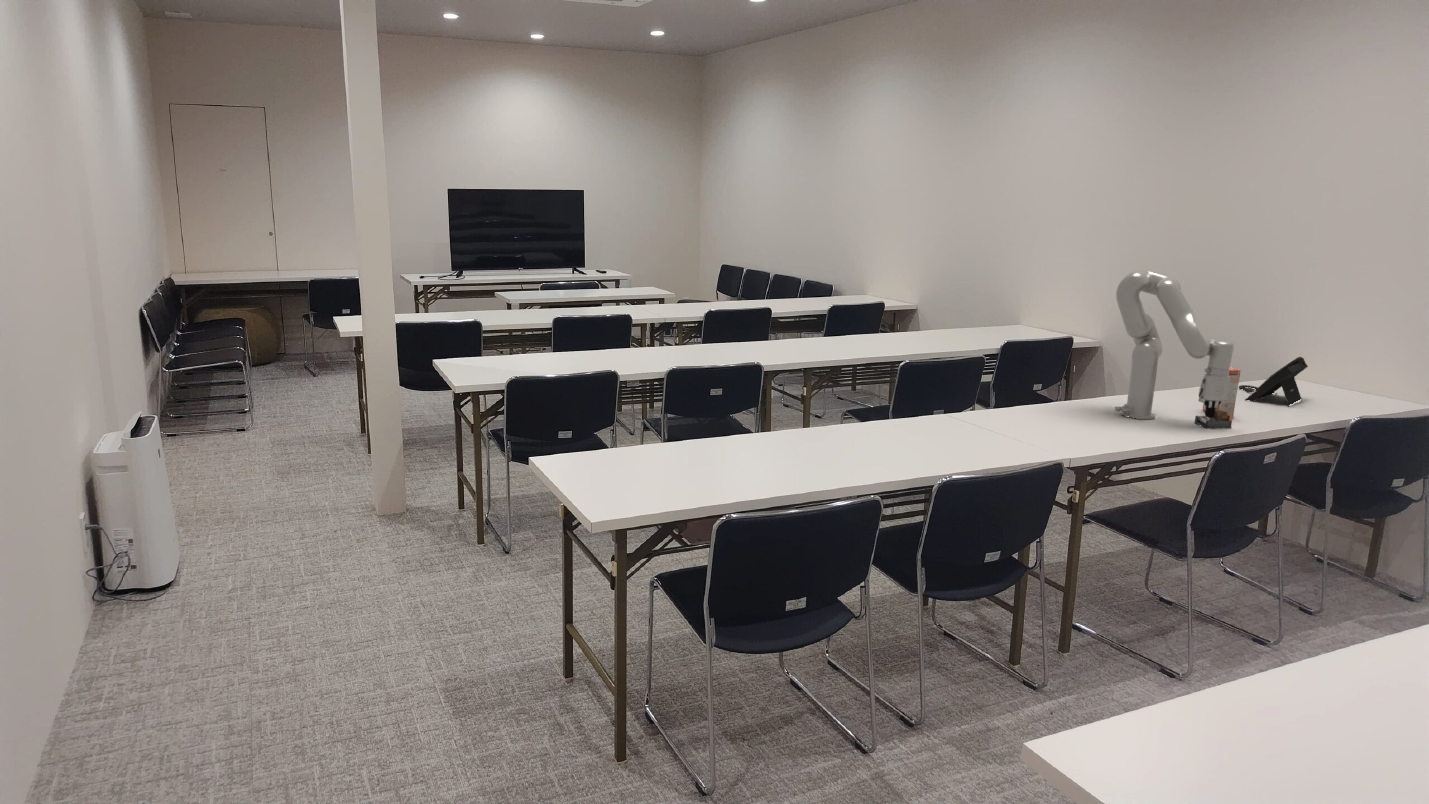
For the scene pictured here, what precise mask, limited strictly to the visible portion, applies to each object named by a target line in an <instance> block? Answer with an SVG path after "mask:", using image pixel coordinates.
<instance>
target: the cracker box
mask: <svg viewBox="0 0 1429 804" xmlns="http://www.w3.org/2000/svg"><path fill="white" fill-rule="evenodd" d="M1241 371H1242V370H1241V369H1239V368H1236V367H1232V366H1230V368H1229V373H1228V376H1230V393H1229V398H1228V400H1227V401H1226V402H1225V403H1221V404H1219V405H1218V406H1217V408H1215V409H1220V410H1223V411H1226V412H1228V413H1227V414H1229V415H1232V416H1233V418H1232V420H1233V419H1234V413H1235V407H1236V402H1237V401H1236V400H1237V396H1238V395H1237V394H1238V390H1239V383H1240V377H1241ZM1204 400H1205V399H1204ZM1205 410H1206V406H1205V404H1204V403H1203V404H1202V412H1204V413H1205Z"/></svg>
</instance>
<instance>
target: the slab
mask: <svg viewBox="0 0 1429 804" xmlns="http://www.w3.org/2000/svg"><path fill="white" fill-rule="evenodd" d="M1227 413H1228V412H1226V411H1223V410H1220V409H1215V413H1214V416H1213V418H1214V419H1216V420H1226V419H1227Z"/></svg>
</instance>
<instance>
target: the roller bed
mask: <svg viewBox="0 0 1429 804" xmlns="http://www.w3.org/2000/svg"><path fill="white" fill-rule="evenodd" d="M1232 418H1233V419H1234V415H1233V416H1232V415H1229V414H1227V419H1226V420H1216V419H1214V418H1209V417H1207V416H1205V415H1195V417H1194V424H1196V425H1198V426H1200V425H1201V426H1200V427H1202V426H1203V428H1205V429H1207V428H1210V429H1231V428H1232V425H1233V424H1232V423H1233V419H1232Z"/></svg>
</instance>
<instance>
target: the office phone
mask: <svg viewBox="0 0 1429 804" xmlns="http://www.w3.org/2000/svg"><path fill="white" fill-rule="evenodd" d="M1308 367H1309V365H1307V363H1306V360H1305V358H1304V357H1302V356H1298V357H1297V358H1295V359H1293V360H1292V361H1290V362H1289V363H1287V364H1285V365H1284V366H1283V367H1281V368H1279V370H1277V371H1276V372H1274V373H1273V374H1271V375H1270V376H1269V377H1268V378H1266V380H1264V381H1263V382H1262V383H1261V384H1260V385H1259V386H1258V387H1257V386H1254V385H1249V384H1248V385H1247V384H1246V385H1245V384H1244V385H1243V384H1242V385H1238V389H1239V388H1240V389H1239V390H1241V389H1243V390H1242V391H1244V390H1245V391H1244V392H1246V391H1247V392H1246V393H1251V394H1249V396H1248V397H1247V398H1245V399H1244V401H1247V400H1250V401H1249V402H1252V401H1253V402H1255V400H1256V401H1259V400H1260V398H1261V399H1263V398H1266V397H1268V396H1267V395H1269V396H1271V395H1270V394H1272V393H1274V394H1277V395H1278V392H1277V391H1279V389H1280V388H1281V387H1282V388H1281V389H1282V391H1283V395H1284V397H1285V400H1286V403H1287V406H1288V405H1290V404H1293V403H1294V402H1296V401H1298V400H1300V399H1302V396H1301V393H1300V390H1299V387H1298V384H1297V381H1296V378H1295V377H1296V376H1298V375H1299V374H1300V373H1302V372H1303V371H1304V370H1306V369H1307V368H1308ZM1245 387H1251V388H1255V389H1256V390H1254V389H1250V388H1245ZM1275 392H1276V393H1275ZM1265 396H1266V397H1265ZM1262 397H1263V398H1262Z"/></svg>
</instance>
